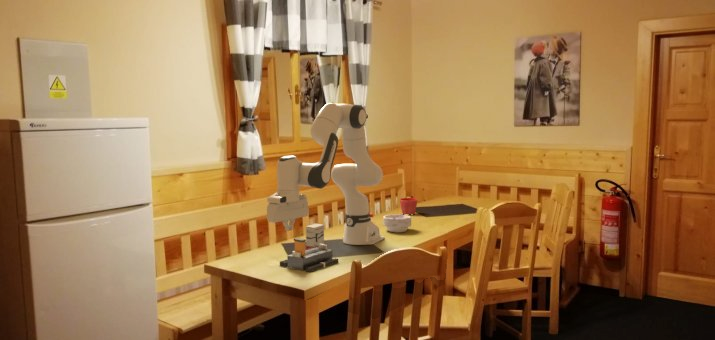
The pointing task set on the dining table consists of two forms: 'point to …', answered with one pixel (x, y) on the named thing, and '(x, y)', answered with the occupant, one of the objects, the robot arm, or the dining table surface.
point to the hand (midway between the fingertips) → (288, 230)
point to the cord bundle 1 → (284, 263)
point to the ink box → (314, 235)
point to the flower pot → (408, 205)
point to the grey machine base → (309, 257)
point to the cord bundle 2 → (321, 265)
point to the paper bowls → (397, 222)
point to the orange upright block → (300, 245)
